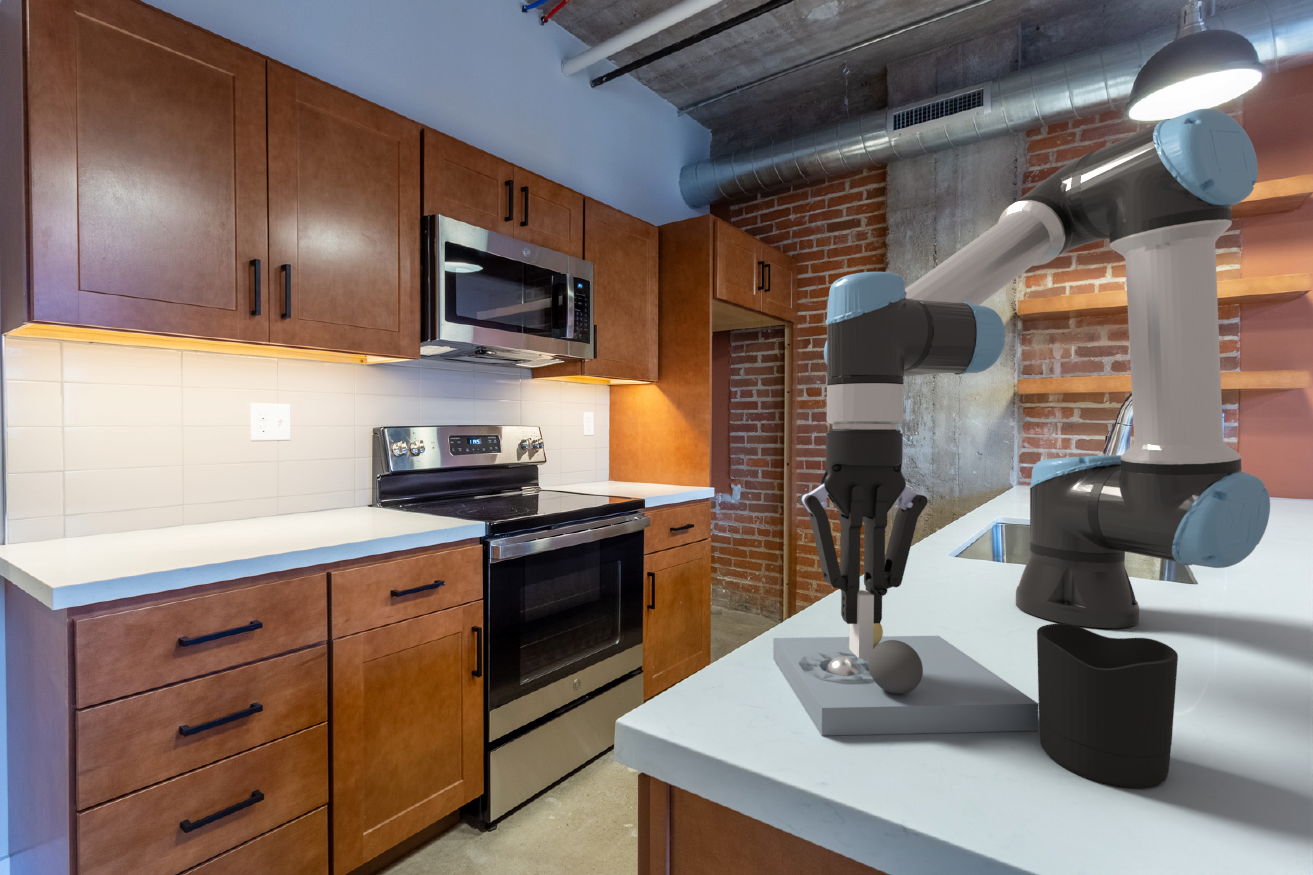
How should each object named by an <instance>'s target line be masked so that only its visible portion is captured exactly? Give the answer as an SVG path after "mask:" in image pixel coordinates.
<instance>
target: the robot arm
mask: <svg viewBox="0 0 1313 875" xmlns="http://www.w3.org/2000/svg"><path fill="white" fill-rule="evenodd" d="M1258 173H1259V166H1258V159H1257V153H1256V151H1255V148H1254V145H1253V142H1252V141H1251V138H1250V137H1249V135H1248V133H1247V131H1246V130H1245V129H1244V127H1242V126H1241V124H1240V123H1239V122H1238V121H1237V120H1236V119H1235V118H1234V117H1233V116H1231V115H1229V114H1228V113H1226V112H1223V111H1222V110H1218V109H1214V108H1200V109H1195V110H1192V111H1189V112H1186V113H1184V114H1181V115H1179V116H1176V117H1174V118H1173V117H1172V118H1166V119H1163V120H1161V121H1159V122H1157V124H1155V125H1154V126H1151V127H1148V128H1146V129H1144V130H1141V131H1139V132H1137V133H1135V134H1132V135H1129V136H1127V137H1124V138H1122V139H1121V140H1118V141H1116V142H1113V143H1112V144H1109V145H1106V146H1104V147H1101V148H1099V149H1096V150H1094V151H1092V152H1091V151H1090V152H1089V153H1086V154H1084V155H1081V156H1080V157H1078V158H1076V159H1074V160H1072V161H1071V162H1069V163H1067V164H1066V165H1064V166H1063V167H1061V168H1060V169H1058V170H1057V171H1056V172H1054V173H1052V174H1051V175H1050V176H1048V177H1046V179H1044V180H1043V181H1041V182H1040V183H1038V184H1037V185H1036V186H1035V187H1034V188H1032V189H1031V190H1029V191H1028V192H1027V193H1026V194H1024V195H1023V196H1021V197H1020V198H1019V199H1017V200H1016V201H1015V202H1013V203H1011V204H1010V205H1008V207H1006V208H1005V209H1004V210H1003V211H1002V213H1001V214H1000V217H999V219H998V221H997V223H996V224H995V225H993V226H992V227H990V228H989V229H987V230H986V231H985V232H984V233H982V234H980V235H979V236H978V237H976V238H975V239H973V240H972V241H971V242H969V243H968V244H967V245H965V246H963V247H962V248H961V249H960V250H958V251H957V252H955V253H954V254H953V255H951V256H949V257H948V258H947V259H945V260H943V262H941V263H939V264H938V265H937V266H935V267H934V268H932V269H931V270H929V271H928V272H926V274H924V275H923V276H921V277H920V278H918V279H917V280H916V281H914V282H912V283H911V284H910V285H909V286H907V287H906V285H905V280H904V278H903V277H902V275H899V274H896V273H894V272H891V271H890V272H888V271H864V272H857V273H852V274H847V275H845V276H842V277H839V278H837V279H836V280H835V281H833V283H832V284H831V285H830V289H829V294H828V300H827V312H826V320H825V325H826V341H825V344H824V348H823V357H824V362H825V364H826V380H827V381H826V423H827V424H829V425H830V424H832V429H827V432H825V472H824V474H823V475H822V477H821V480H820V485H819V486H818V487H816V488H815V489H813V490H812V491H810V492H804V493H801V495H800V497H799V501H800V503H801V505H802V507H803V508H804V510H805V511H806V513H807V514H808V516H809V520H810V525H811V528H812V534H813V537H814V539H813V540H814V543H815V546H816V550H817V556H818V560H819V564H820V568H821V572H822V577H823V580H824V581H825V582H826V583H827V584H829V586H831V587H832V588H835V589H838V590H840V593H841V594H840V596H841V602H840V604H841V607H840V615H841V618H842V620H843V621H844V622H845V623H846V624H847V625H849V636H848V637H849V649H850V650H851V651H852V652H853V653H854V654H855V655H856V656H857V657H858V658H859V659H866V658H869V657H870V654H871V652H872V650H873V626H874V623H880V624H881V622H882V619H883V597H885V595H887V593H888V591H889V589H891V588H898V587H900V586H901V585H902V582H903V578H904V576H905V575H904V574H905V570H906V566H907V562H908V559H909V555H910V551H911V546H912V544H913V539H914V534H915V532H916V527H917V523H918V520H919V517H920V515H921V514H922V512H924V510H925V508H926V507H927V504H928V503H929V502H928V501H929V500H928V498H927V496H925V495H922V494H919V493H917V492H915V491H914V490H912V489H910V488H909V487H907V486H906V485H907V482H906V478H905V476H904V475H903V471H902V466H903V465H902V464H903V447H904V446H903V442H904V441H903V437H904V434H903V433H902V432H901V430H900V429H898V427H897V426H898V425H901V424H902V423H903V422H904V383H905V381H904V380H905V378H904V377H913V376H914V377H915V376H923V375H934V374H954V375H956V376H957V375H958V376H959V375H965V374H977V373H982V372H984V371H986V370H988V369H990V368H991V367H992V366H994V364H995V363H996V362H997V361H998V359H999V358H1001V355H1002V353H1003V349H1004V346H1005V345H1006V344H1005V342H1006V341H1005V338H1006V334H1005V333H1006V329H1005V328H1006V327H1005V324H1004V321H1003V319H1002V317H1001V316H1000V315H999V313H997V311H995V310H994V309H993V308H990V307H989V306H984V305H981V304H982V303H984V302H986V301H987V300H988V299H990V298H991V297H992V296H994V295H995V294H996V293H998V292H999V291H1000V290H1001V289H1003V288H1004V287H1006V286H1007V285H1008V284H1010V283H1011V282H1013V281H1014V280H1016V278H1018V277H1019V276H1020V275H1022V274H1023V273H1025V272H1026V271H1027V270H1029V269H1030V268H1031V267H1034V266H1043V265H1046V264H1047V263H1050V262H1052V261H1053V260H1055V258H1057V257H1059V256H1060V255H1062V254H1064V253H1065V252H1068V251H1070V250H1074V249H1076V248H1079V247H1082V246H1084V245H1088V244H1093V243H1095V242H1099V241H1104V240H1106V239H1109V249H1112V250H1113V251H1115V252H1116V253H1117V254H1119V255H1121V256H1123V258H1124V262H1125V279H1126V282H1125V284H1126V298H1127V300H1126V301H1127V317H1128V318H1127V321H1128V341H1129V343H1128V344H1129V361H1130V365H1129V366H1130V383H1131V402H1132V403H1131V404H1132V405H1131V406H1132V420H1133V421H1132V422H1133V444H1132V445H1131V447H1129V448H1128V449H1127V450H1126V451H1125V452H1123V453H1122V454H1121V455H1119V454H1117V455H1116V454H1115V455H1111V454H1108V455H1089V456H1071V457H1058V458H1056V457H1055V458H1046V459H1043V460H1039V461H1037V462H1036V463H1035V464H1034V465H1033V468H1032V470H1031V480H1030V485H1029V556H1028V560H1027V562H1026V565H1025V567H1024V569H1023V572H1022V573H1021V577H1020V580H1019V582H1018V585H1017V587H1016V589H1015V606H1016V607H1017V608H1018V609H1019V610H1021V611H1023V612H1025V613H1026V614H1028V615H1032V616H1035V617H1038V618H1040V619H1044V620H1048V621H1053V622H1058V623H1060V624H1071V625H1075V626H1078V627H1086V628H1096V629H1097V628H1098V629H1100V628H1101V629H1123V628H1124V629H1125V628H1131V627H1135V626H1136V625H1138V624H1139V623H1140V604H1139V602H1138V601H1137V599H1136V595H1135V592H1134V589H1133V586H1132V582H1131V580H1130V577H1129V575H1128V571H1127V569H1126V565H1125V564H1126V563H1125V561H1126V560H1125V559H1126V553H1130V554H1135V555H1141V556H1147V557H1151V558H1156V559H1161V560H1166V561H1170V562H1171V561H1172V562H1176V563H1178V564H1179V565H1184V566H1192V565H1194V566H1199V567H1207V568H1214V569H1222V568H1223V569H1224V568H1229V567H1232V566H1236V565H1237V564H1239V563H1241V562H1242V561H1244V560H1245V559H1247V558H1248V557H1249V556H1250V555H1251V554H1252V553H1253V551H1254V550H1255V549H1256V547H1257V546H1258V545H1259V544H1260V542H1261V541H1262V538H1263V536H1264V535H1265V533H1266V530H1267V527H1268V522H1269V518H1270V513H1271V499H1270V493H1269V490H1268V489H1267V488H1266V487H1265V485H1266V484H1265V483H1264V482H1263V480H1261V479H1260V478H1259V477H1258V476H1255V475H1252V474H1251V473H1248V472H1245V471H1242V470H1243V469H1242V456H1241V454H1240V453H1239V452H1238V451H1236V450H1235V449H1233V448H1231V447H1230V446H1229V445H1228V444H1227V443H1226V442H1225V440H1224V430H1223V429H1224V426H1223V424H1224V423H1223V422H1224V421H1223V403H1222V379H1221V376H1222V375H1221V354H1220V333H1219V332H1220V331H1219V329H1220V328H1219V326H1220V324H1219V308H1218V307H1219V306H1218V305H1219V304H1218V303H1219V302H1218V281H1217V280H1218V279H1217V257H1216V253H1217V252H1216V242H1217V241H1218V239H1220V237H1221V236H1222V235H1223V234H1224V233H1226V231H1227V230H1228V229H1229V228H1231V226H1232V223H1233V221H1232V206H1236V205H1238V204H1239V203H1241V202H1242V201H1244V200H1246V199H1247V198H1249V196H1250V195H1251V194H1252V193H1253V191H1254V188H1255V187H1254V185H1255V184H1256V183H1257V180H1258ZM827 497H828V498H829V500H830V502H832V504H833V505H834V507H835V508H836V510H837V511H838V516H839V517H838V520H839V524H840V545H839V546H840V548H839V550H840V551H839V552H840V554H839V559H840V560H839V559H838V556H837V551H836V547H835V543H834V539H833V538H834V537H833V535H832V534H833V533H832V529H831V525H830V522H829V518H828V513H827V512H826V509H827V507H828V501H827ZM895 503H896V504H897V506H898V509H897V511H896V512H895V517H894V521H893V523H892V524H893V525H892V528H891V532H890V537H889V540H888V544H887V548H886V529H887V526H888V512H889V511H890V510H891V509H892V507H894V504H895ZM863 524H864V529H863V531H864V533H863V534H864V538H863V539H864V541H863V542H864V544H863V548H864V550H863V584H864V586H865V587H860V585H861V584H860V582H861V580H860V578H861V529H862V527H863Z"/></svg>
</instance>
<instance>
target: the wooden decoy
mask: <svg viewBox="0 0 1313 875" xmlns="http://www.w3.org/2000/svg"><path fill="white" fill-rule="evenodd" d="M883 635H884V630H883V626H882V624H881V622H880V623H874V626H873V646H875V645H876V644H878V643H879V642H880V640H881V639H882V636H883Z"/></svg>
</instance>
